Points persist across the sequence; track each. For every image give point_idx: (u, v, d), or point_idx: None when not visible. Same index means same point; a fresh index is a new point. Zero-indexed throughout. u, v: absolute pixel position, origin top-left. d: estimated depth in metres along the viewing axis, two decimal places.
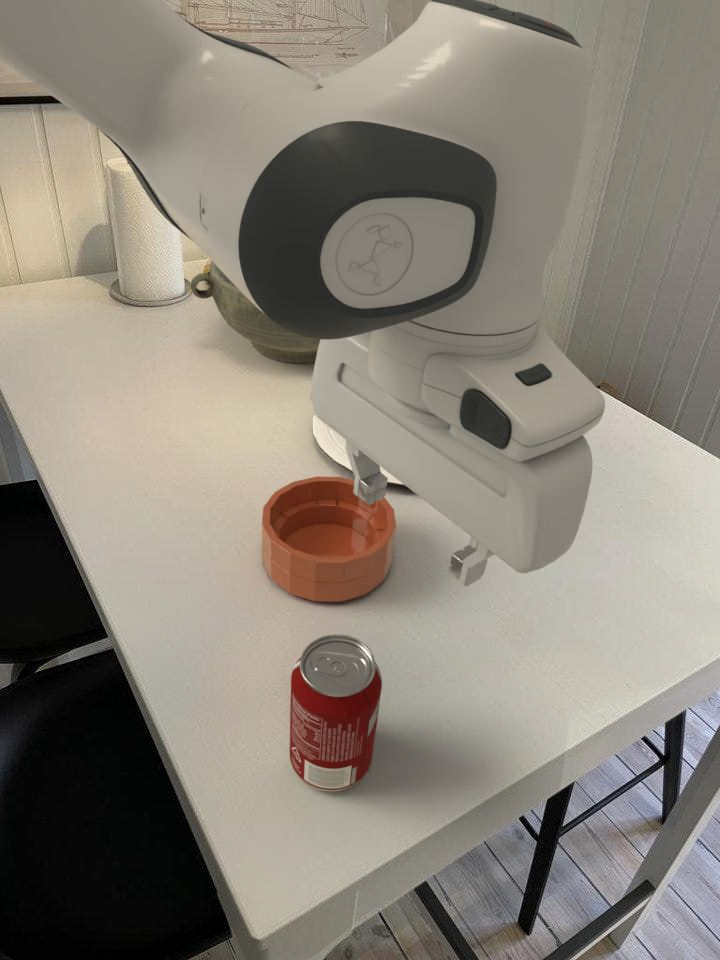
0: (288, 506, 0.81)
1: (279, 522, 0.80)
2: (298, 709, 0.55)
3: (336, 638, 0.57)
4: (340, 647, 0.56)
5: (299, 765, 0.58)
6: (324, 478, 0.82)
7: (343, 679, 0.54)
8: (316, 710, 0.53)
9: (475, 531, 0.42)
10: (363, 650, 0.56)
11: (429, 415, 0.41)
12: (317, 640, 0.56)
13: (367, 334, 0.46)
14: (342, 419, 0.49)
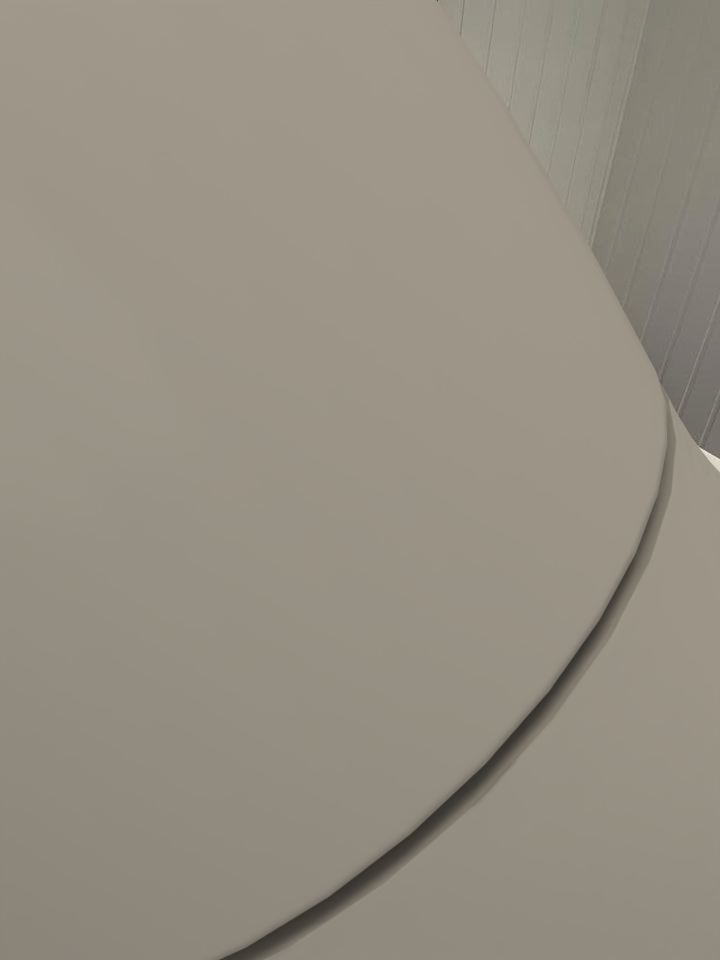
0: None
1: None
2: None
3: None
4: None
5: None
6: None
7: None
8: None
9: None
10: None
11: None
12: None
13: None
14: None
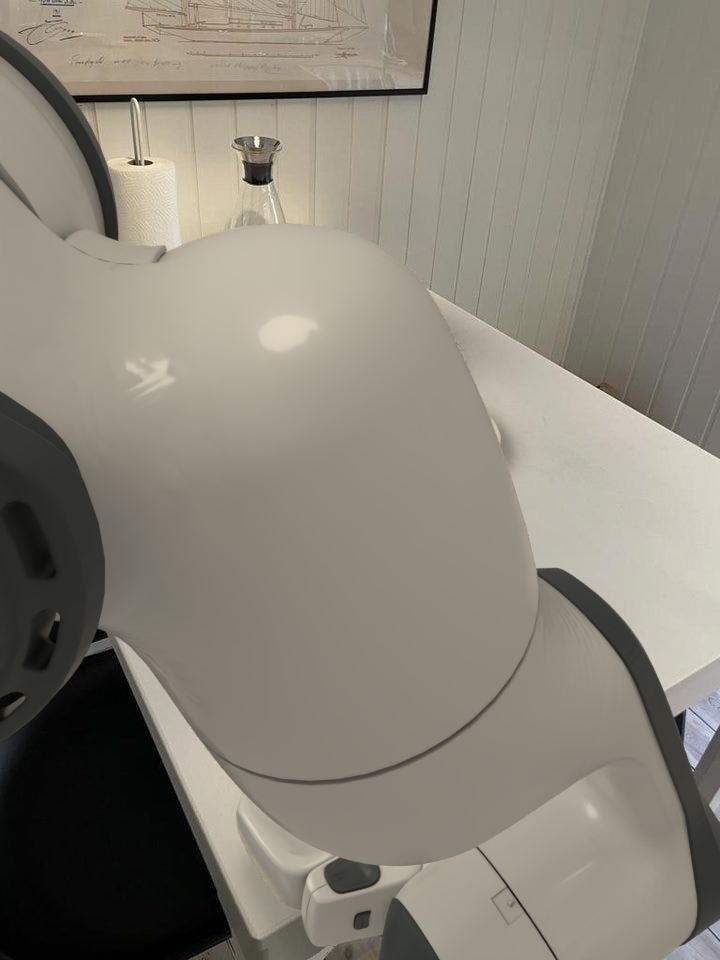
0: None
1: None
2: None
3: None
4: None
5: None
6: None
7: None
8: None
9: None
10: None
11: None
12: None
13: None
14: None
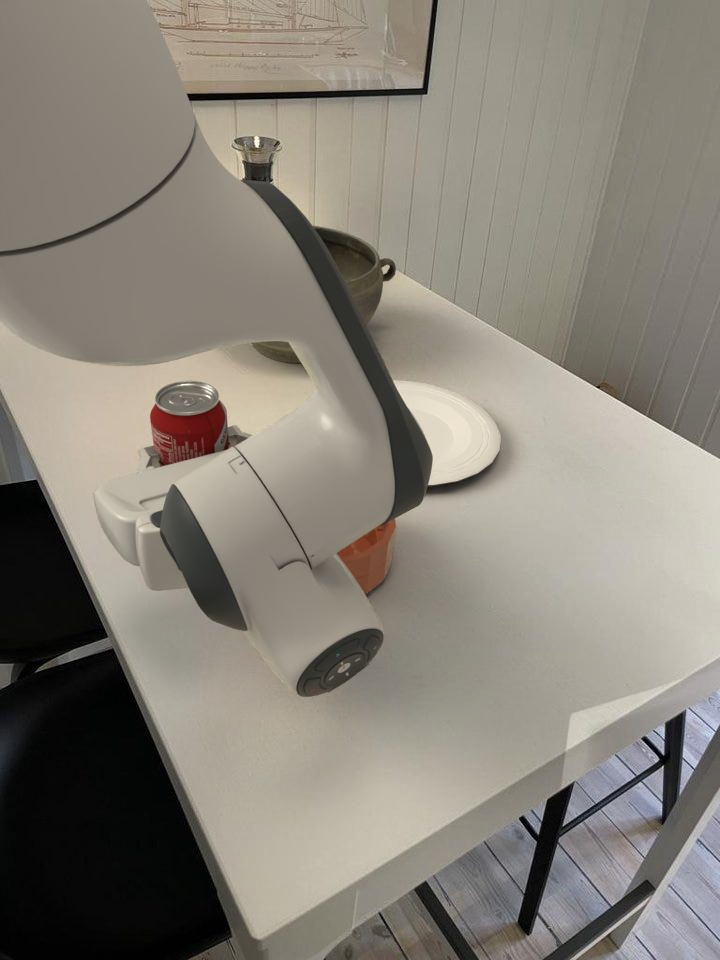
0: None
1: None
2: (155, 433, 0.66)
3: (190, 384, 0.69)
4: (192, 389, 0.68)
5: None
6: None
7: (190, 407, 0.66)
8: (166, 429, 0.65)
9: (141, 475, 0.63)
10: (211, 391, 0.68)
11: None
12: (173, 384, 0.68)
13: None
14: None
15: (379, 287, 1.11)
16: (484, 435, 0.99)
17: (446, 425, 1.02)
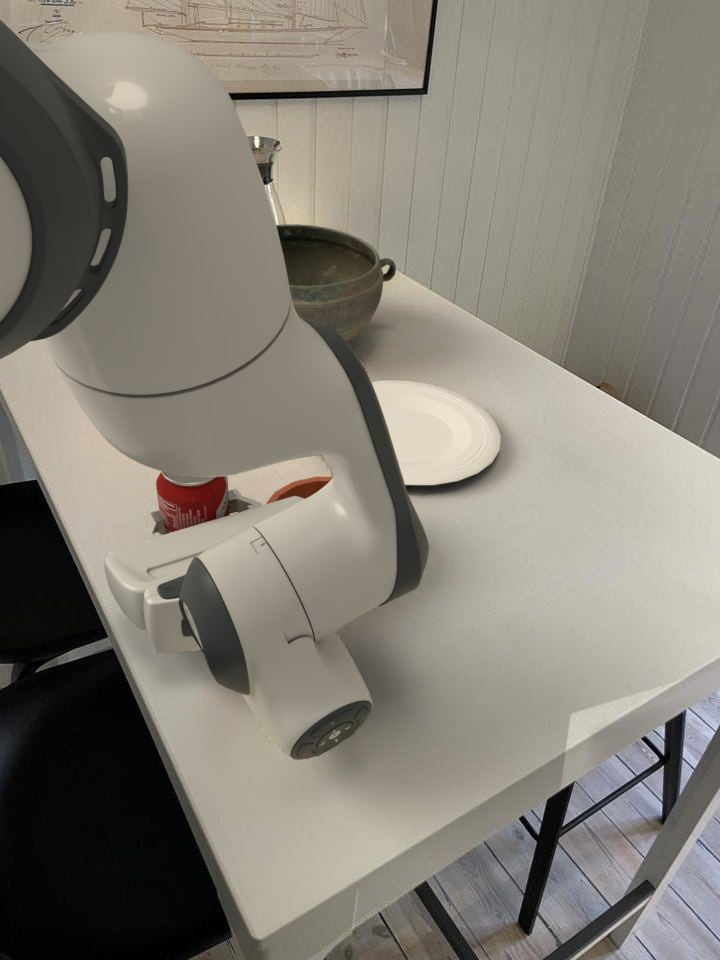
0: None
1: None
2: (160, 501, 0.71)
3: None
4: None
5: None
6: (324, 478, 0.82)
7: (193, 477, 0.71)
8: (171, 498, 0.70)
9: (148, 542, 0.68)
10: None
11: None
12: None
13: None
14: (274, 510, 0.73)
15: (379, 287, 1.11)
16: (484, 435, 0.99)
17: (446, 425, 1.02)
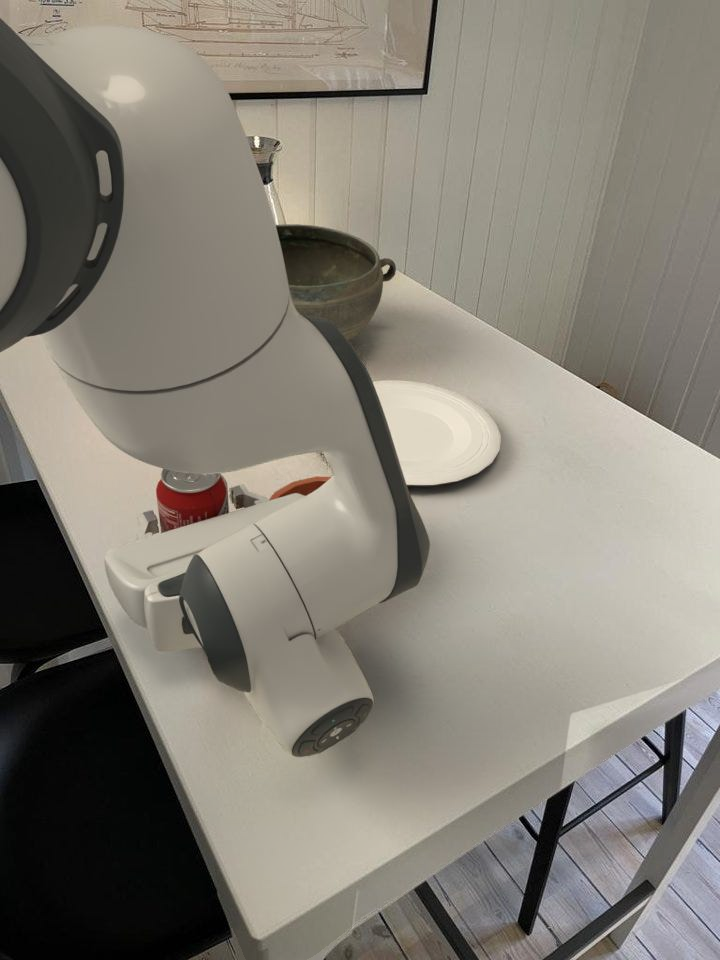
0: None
1: None
2: (161, 508, 0.71)
3: None
4: None
5: None
6: (324, 478, 0.82)
7: (194, 484, 0.71)
8: (172, 505, 0.70)
9: (149, 540, 0.68)
10: None
11: None
12: None
13: None
14: (275, 508, 0.72)
15: (379, 287, 1.11)
16: (484, 435, 0.99)
17: (446, 425, 1.02)
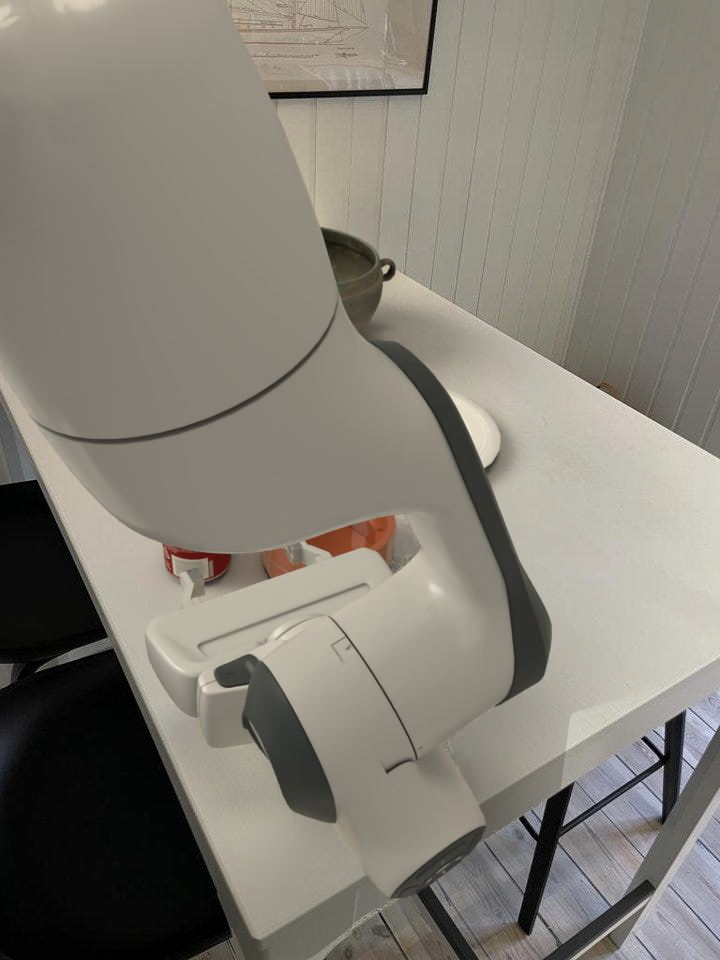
0: None
1: None
2: None
3: None
4: None
5: (168, 562, 0.75)
6: None
7: None
8: None
9: (197, 609, 0.57)
10: None
11: (280, 634, 0.54)
12: None
13: None
14: (342, 567, 0.62)
15: (379, 287, 1.11)
16: (484, 435, 0.99)
17: None
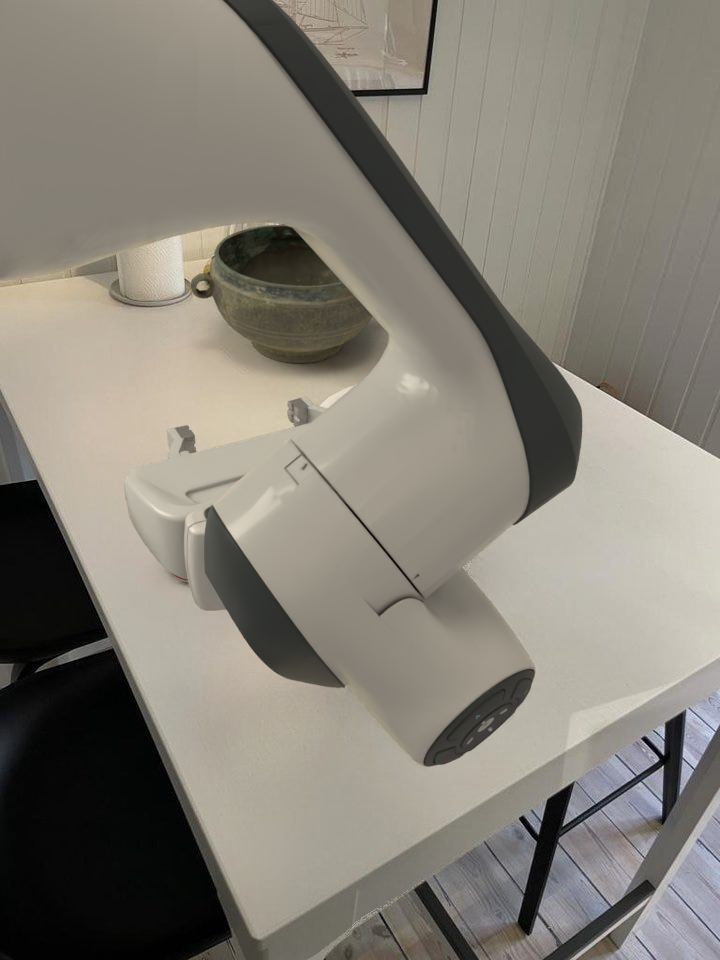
0: None
1: None
2: None
3: None
4: None
5: None
6: None
7: None
8: None
9: (186, 458, 0.48)
10: None
11: None
12: None
13: None
14: None
15: None
16: None
17: None
